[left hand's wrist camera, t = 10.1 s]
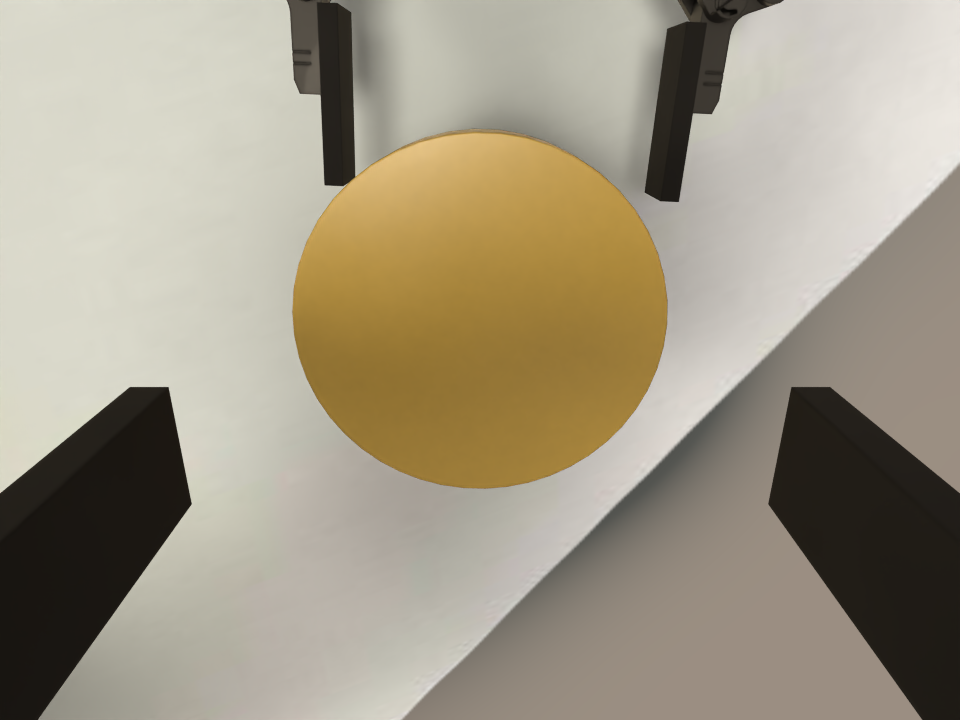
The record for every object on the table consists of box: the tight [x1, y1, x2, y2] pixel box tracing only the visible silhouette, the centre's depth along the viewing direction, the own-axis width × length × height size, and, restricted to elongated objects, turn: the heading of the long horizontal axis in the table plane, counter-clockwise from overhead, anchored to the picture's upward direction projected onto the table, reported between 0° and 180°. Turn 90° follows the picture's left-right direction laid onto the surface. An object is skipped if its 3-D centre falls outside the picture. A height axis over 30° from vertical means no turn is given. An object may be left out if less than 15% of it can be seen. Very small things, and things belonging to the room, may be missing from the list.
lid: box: [292, 129, 667, 489], centre depth 21 cm, size 12×12×2 cm
